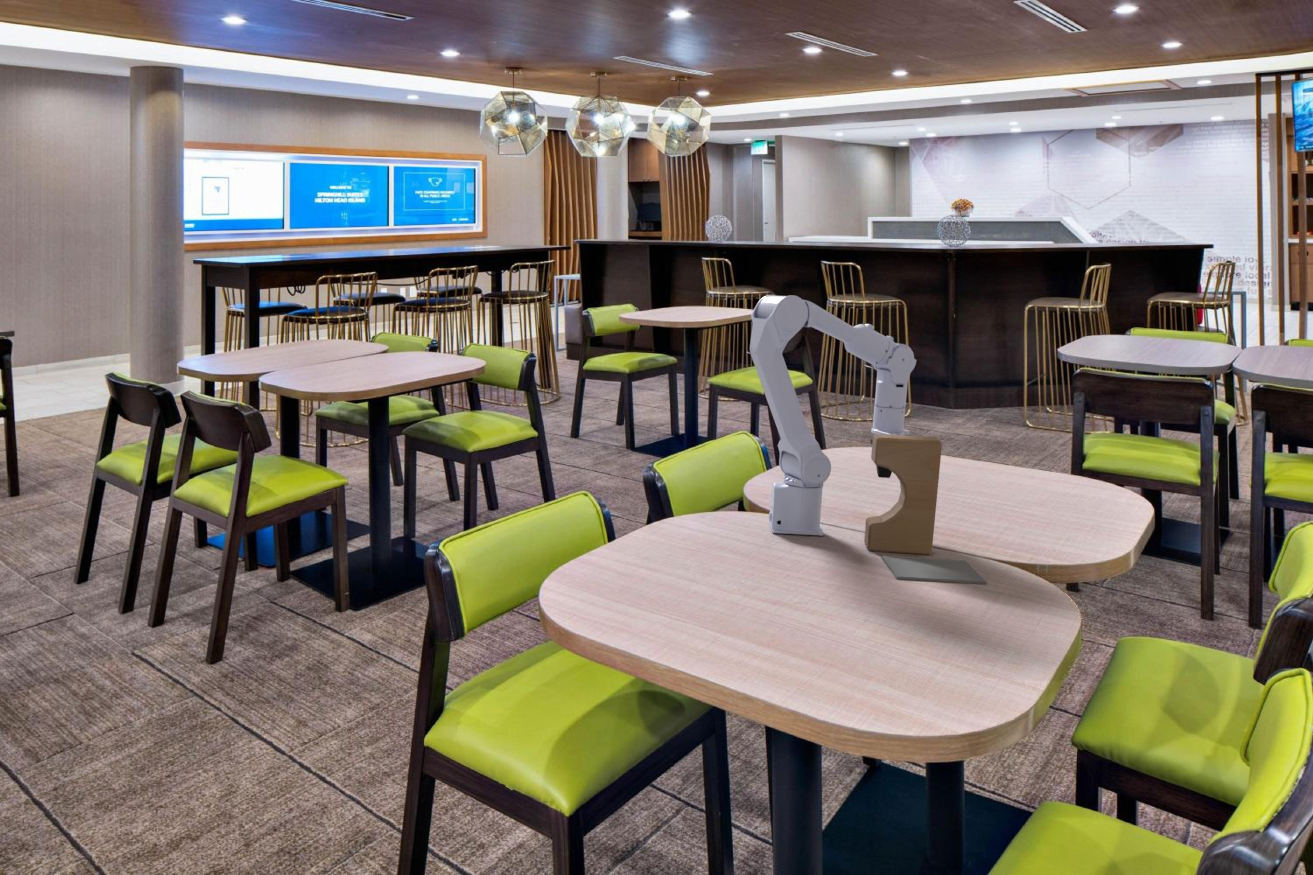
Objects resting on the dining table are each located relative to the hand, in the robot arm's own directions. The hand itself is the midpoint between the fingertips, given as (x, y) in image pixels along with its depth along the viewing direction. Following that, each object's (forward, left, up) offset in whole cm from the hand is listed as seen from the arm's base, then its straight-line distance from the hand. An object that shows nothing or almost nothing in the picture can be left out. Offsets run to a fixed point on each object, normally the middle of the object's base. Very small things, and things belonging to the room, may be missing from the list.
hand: (883, 477), depth 181 cm
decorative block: (0, -16, -10) cm, 19 cm away
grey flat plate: (+3, -28, -10) cm, 30 cm away
